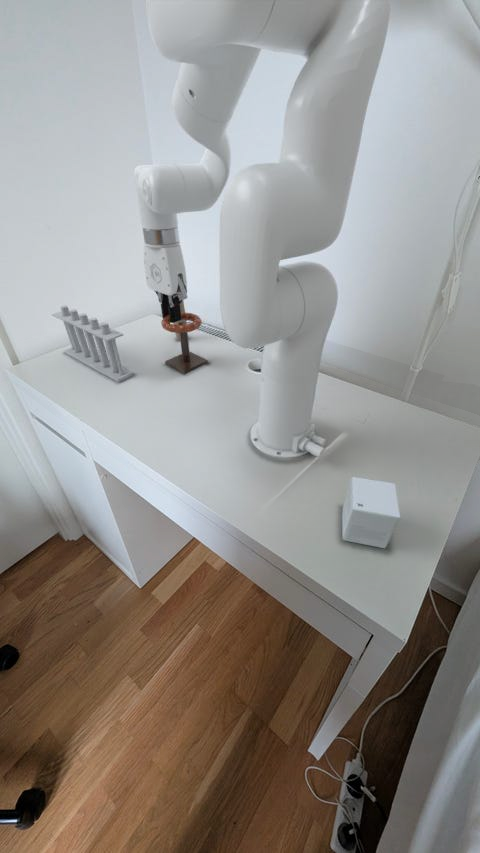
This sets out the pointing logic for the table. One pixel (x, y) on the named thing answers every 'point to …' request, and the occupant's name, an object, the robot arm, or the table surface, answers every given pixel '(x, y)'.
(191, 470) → the table surface
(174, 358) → the rack post
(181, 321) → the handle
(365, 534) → the product box
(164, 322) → the ring
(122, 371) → the test tube rack
